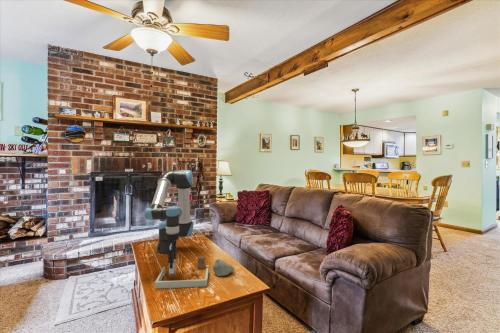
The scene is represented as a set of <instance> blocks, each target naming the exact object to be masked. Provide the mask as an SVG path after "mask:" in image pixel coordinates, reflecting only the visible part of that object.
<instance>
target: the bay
mask: <svg viewBox="0 0 500 333" xmlns="http://www.w3.org/2000/svg"><path fill="white" fill-rule="evenodd" d="M209 273H210V265H207V264H205V277H204V279H203V278H201V279H184V280H183V279H181V280H179V279H178V280H162V279H163V278H164V276H165V275H166V266H161V271H160V272H159V274H158V276H157V278H156V280H155V281H154V289H155V290H156V289H177V288H178V289H179V288H181V289H182V288H198V287H199V288H200V287H201V288H202V287H208V279H209Z"/></svg>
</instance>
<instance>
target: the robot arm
mask: <svg viewBox="0 0 500 333" xmlns="http://www.w3.org/2000/svg"><path fill="white" fill-rule="evenodd" d="M156 184H157V186H156V190H155V193H154V196H153V200H152V202H151V204H150V207H145V210H144V218H145V220H148V221H149V220H150V221H155V220H157V221H158V220H159V221H160V220H164V221H161V222H160V223H159V225H158V241H157V242H158V243H157V245H156V248H155V249H156V250H155V251H156V253H158V254H162V255H163V254H168V255H167V256H168V259H167V260H168V261H167V263H168V275H169V274H173V273H174V262H176V259H178V257H177V241H178V240H179V239H180V238H189V237H191V236H192V235H193V231H194V223H195V222H194V221H193V220H192V218H191V212H190V211H191V209H190V207H191V206H190V205H191V204H190V203H191V201H190V200H191V199H190V198H191V197H190V191H191V190H190V189H191V188H192V186H194V176H193V172H192V170H190V169H169V170H166V171H165V172H164V173H162V174H161V175H159V178H158V180H157V183H156ZM171 186H175V189H177V195H178V196H177V199H178V200H177V201H178V202H177V204H178V206H176V205H175V206H174V205H173V206H167V207H164V206H165V203H166V202H165V201H166V198H167V195H168V191H169V189H170V187H171Z"/></svg>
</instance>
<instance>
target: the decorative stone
mask: <svg viewBox="0 0 500 333" xmlns="http://www.w3.org/2000/svg"><path fill="white" fill-rule="evenodd" d="M212 270H213V273H214V275H216V276H217V277H224V276H227V275H229V274H232V273H233V272H234V271H235V267H234V266H233V265H231V264H229V263H228V262H226V261H224V260H222V259H220V258H219V259H215V261H214V264H213V266H212Z"/></svg>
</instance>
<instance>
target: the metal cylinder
mask: <svg viewBox="0 0 500 333" xmlns="http://www.w3.org/2000/svg"><path fill="white" fill-rule="evenodd" d="M176 273H177V262H176V261H175V262H174V273H173V274H169V273H168V277H175V276H176Z"/></svg>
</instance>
